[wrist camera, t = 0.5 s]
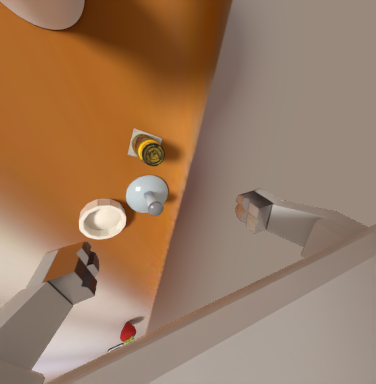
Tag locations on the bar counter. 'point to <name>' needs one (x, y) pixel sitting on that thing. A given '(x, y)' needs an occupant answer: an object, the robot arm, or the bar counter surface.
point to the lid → (147, 194)
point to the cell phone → (115, 347)
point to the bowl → (102, 219)
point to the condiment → (146, 148)
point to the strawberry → (128, 333)
